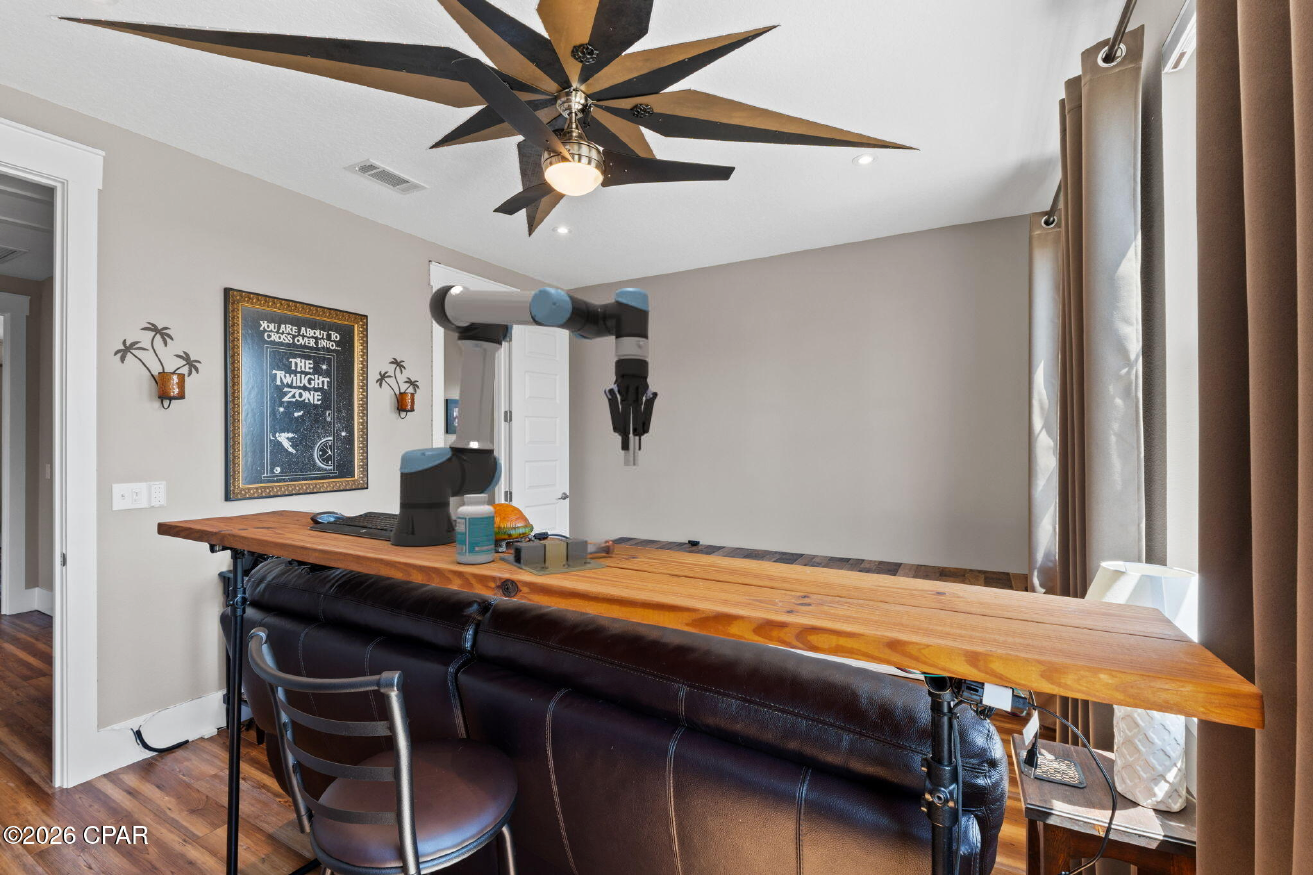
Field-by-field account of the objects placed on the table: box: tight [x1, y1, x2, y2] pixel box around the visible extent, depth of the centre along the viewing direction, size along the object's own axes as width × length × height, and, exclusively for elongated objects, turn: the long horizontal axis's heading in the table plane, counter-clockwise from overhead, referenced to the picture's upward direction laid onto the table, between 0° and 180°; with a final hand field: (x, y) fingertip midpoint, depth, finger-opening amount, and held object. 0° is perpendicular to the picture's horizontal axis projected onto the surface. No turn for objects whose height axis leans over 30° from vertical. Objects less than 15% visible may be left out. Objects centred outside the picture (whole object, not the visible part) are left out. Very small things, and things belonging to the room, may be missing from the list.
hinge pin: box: [588, 539, 616, 556], centre depth 120 cm, size 3×15×3 cm, turn 125°
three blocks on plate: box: [498, 537, 607, 576], centre depth 116 cm, size 20×14×4 cm
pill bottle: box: [455, 494, 496, 565], centre depth 118 cm, size 8×7×14 cm
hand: (631, 465), depth 128 cm, fingers closed
